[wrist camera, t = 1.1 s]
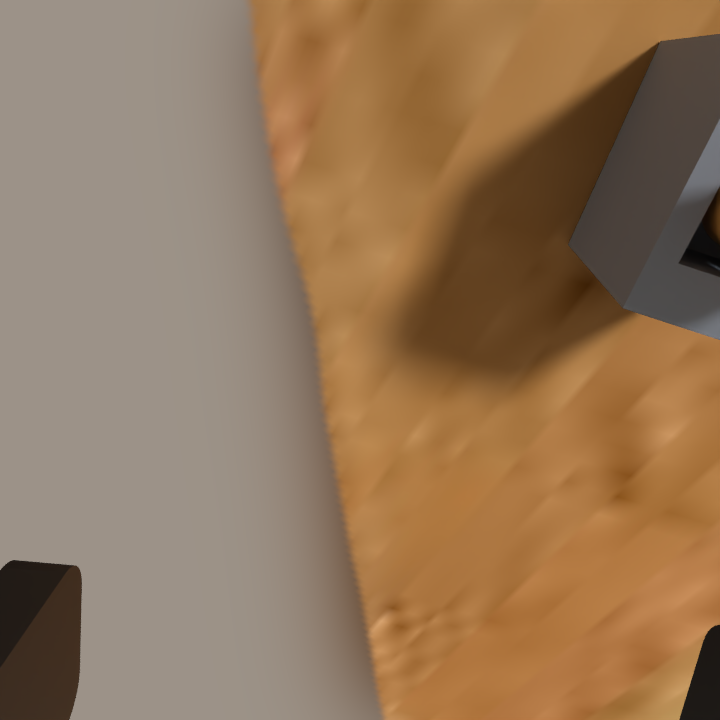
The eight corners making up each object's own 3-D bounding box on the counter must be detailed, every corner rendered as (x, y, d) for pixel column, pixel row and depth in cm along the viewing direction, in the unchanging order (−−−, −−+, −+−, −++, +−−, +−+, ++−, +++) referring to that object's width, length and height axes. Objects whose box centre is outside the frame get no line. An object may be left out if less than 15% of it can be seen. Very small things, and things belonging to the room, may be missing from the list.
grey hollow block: (660, 41, 27) (766, 28, 19) (793, 87, 27) (955, 94, 19) (568, 244, 31) (622, 308, 22) (686, 283, 31) (782, 360, 23)
